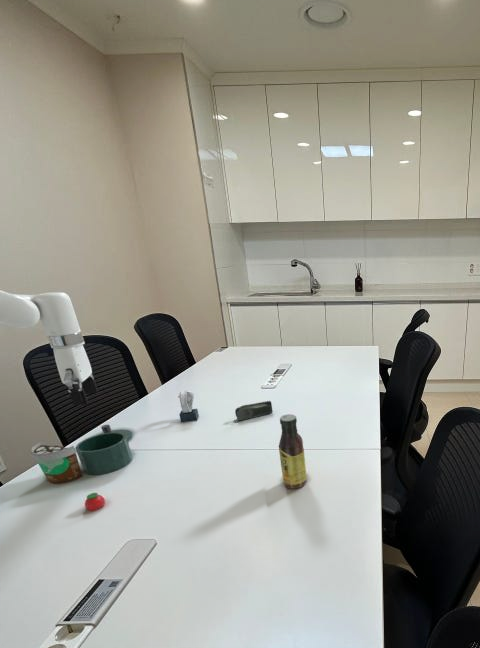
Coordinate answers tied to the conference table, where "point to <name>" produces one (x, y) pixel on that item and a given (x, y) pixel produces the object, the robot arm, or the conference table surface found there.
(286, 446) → the sauce bottle
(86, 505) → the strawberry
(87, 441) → the pot
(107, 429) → the lid
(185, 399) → the stone sculpture
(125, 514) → the conference table surface
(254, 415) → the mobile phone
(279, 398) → the conference table surface
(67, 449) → the food container
